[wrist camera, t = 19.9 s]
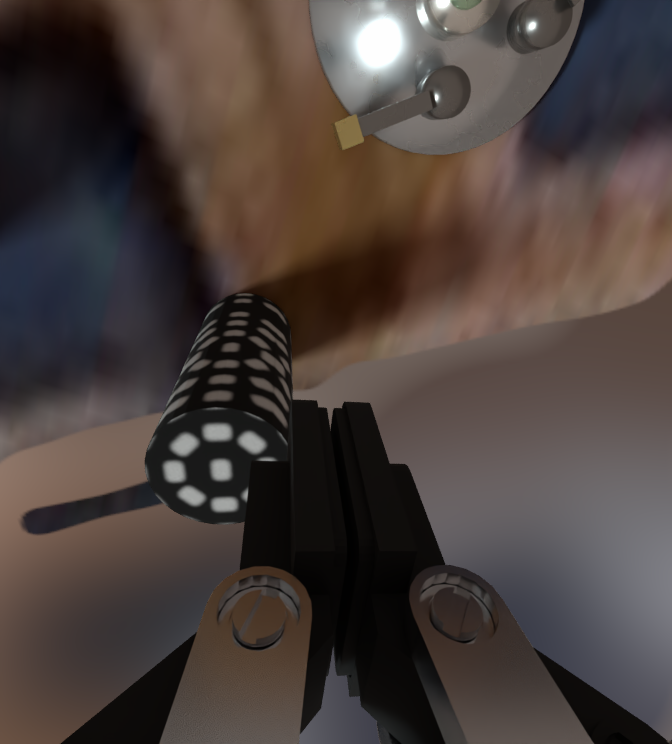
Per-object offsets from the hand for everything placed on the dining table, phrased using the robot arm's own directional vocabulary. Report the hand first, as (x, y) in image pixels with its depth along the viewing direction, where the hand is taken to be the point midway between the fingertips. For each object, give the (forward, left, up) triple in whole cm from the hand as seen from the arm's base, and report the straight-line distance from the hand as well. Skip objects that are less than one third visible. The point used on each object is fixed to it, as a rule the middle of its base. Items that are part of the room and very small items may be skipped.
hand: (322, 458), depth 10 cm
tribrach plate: (-6, +18, -33) cm, 38 cm away
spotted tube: (+6, -10, -33) cm, 35 cm away
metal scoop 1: (-2, +11, -31) cm, 33 cm away
